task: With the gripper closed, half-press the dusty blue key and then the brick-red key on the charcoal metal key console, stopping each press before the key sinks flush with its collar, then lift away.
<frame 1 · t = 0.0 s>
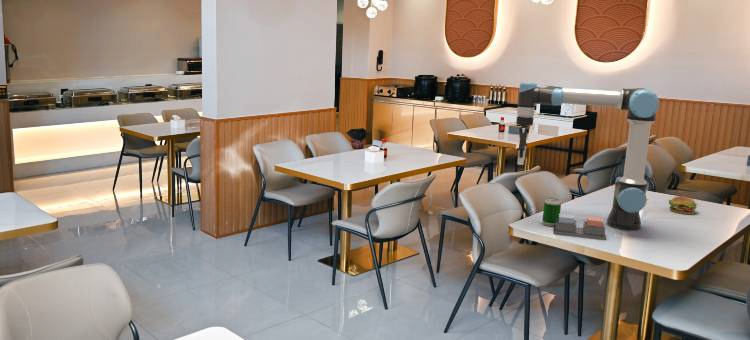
hand: (521, 162, 307), 28 cm above the table, fingers open, 13 cm apart
brick red key: (594, 222, 293), point 6 cm above the table, slide at 0.0 cm
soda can: (550, 225, 308), on the table
food: (681, 212, 347), on the table
key console: (578, 233, 295), on the table
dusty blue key: (566, 219, 296), point 6 cm above the table, slide at 0.0 cm
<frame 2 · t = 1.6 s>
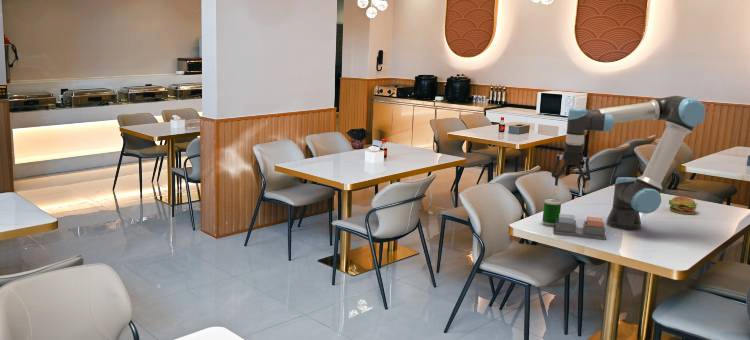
hand: (568, 194, 293), 17 cm above the table, fingers open, 9 cm apart
nothing on the table moved.
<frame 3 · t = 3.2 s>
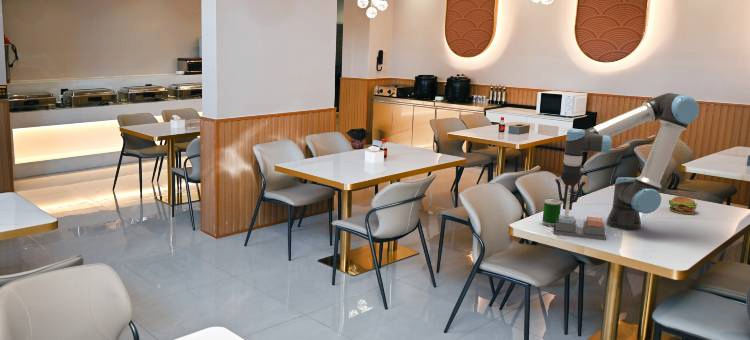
hand: (566, 216, 295), 7 cm above the table, fingers closed
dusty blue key: (566, 220, 296), point 5 cm above the table, slide at 0.6 cm, touching gripper
everything else where it was.
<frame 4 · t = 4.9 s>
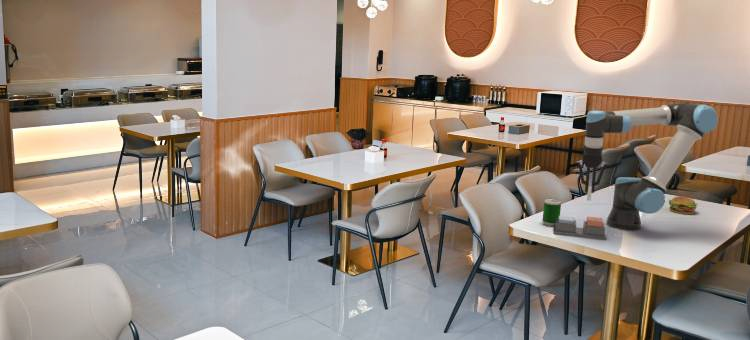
hand: (588, 199, 292), 16 cm above the table, fingers closed
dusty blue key: (566, 221, 296), point 5 cm above the table, slide at 1.1 cm
everything else where it was.
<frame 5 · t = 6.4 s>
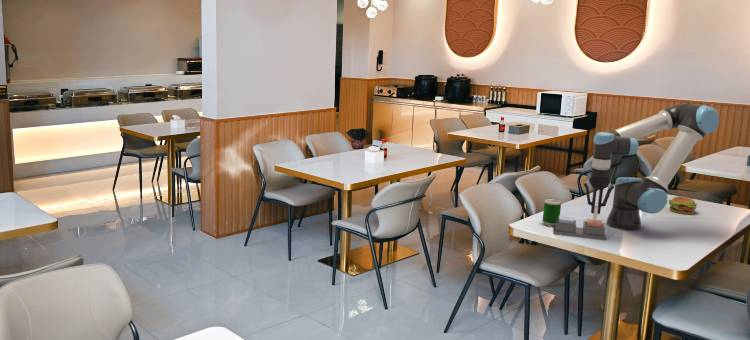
hand: (594, 220, 293), 7 cm above the table, fingers closed
brick red key: (594, 224, 293), point 5 cm above the table, slide at 1.0 cm, touching gripper
everything else where it was.
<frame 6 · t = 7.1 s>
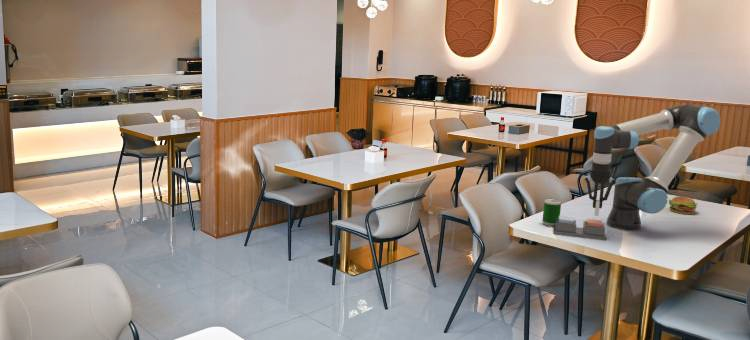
hand: (596, 215, 292), 9 cm above the table, fingers closed
brick red key: (594, 224, 293), point 5 cm above the table, slide at 1.1 cm
everything else where it was.
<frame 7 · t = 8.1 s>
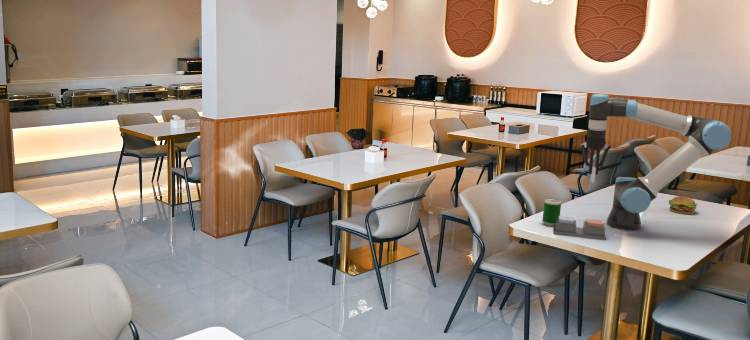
hand: (592, 181, 299), 22 cm above the table, fingers closed
nothing on the table moved.
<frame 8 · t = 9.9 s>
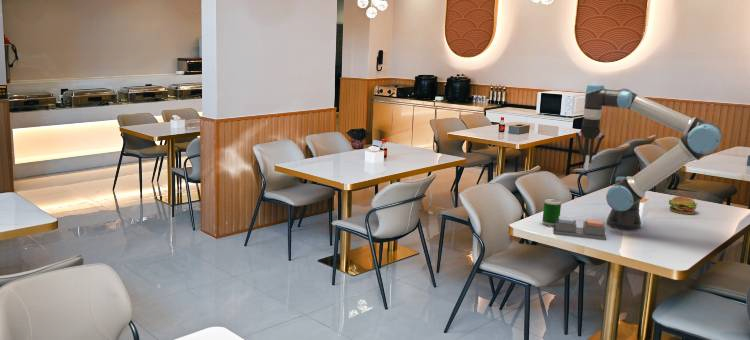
hand: (586, 169, 305), 26 cm above the table, fingers closed
nothing on the table moved.
at the end: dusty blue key slide at 1.1 cm; brick red key slide at 1.1 cm; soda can moved 0.2 cm from its start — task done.
